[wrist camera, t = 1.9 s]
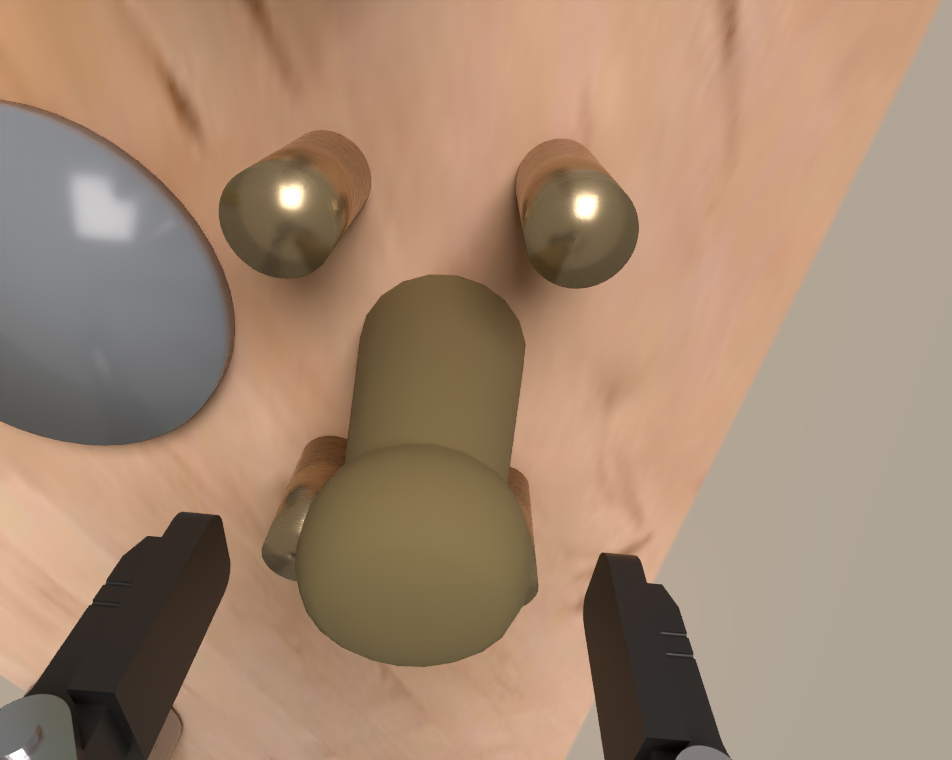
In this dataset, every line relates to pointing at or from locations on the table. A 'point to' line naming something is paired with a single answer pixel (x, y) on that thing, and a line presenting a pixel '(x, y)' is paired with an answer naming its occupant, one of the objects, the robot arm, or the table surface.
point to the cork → (424, 484)
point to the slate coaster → (100, 290)
